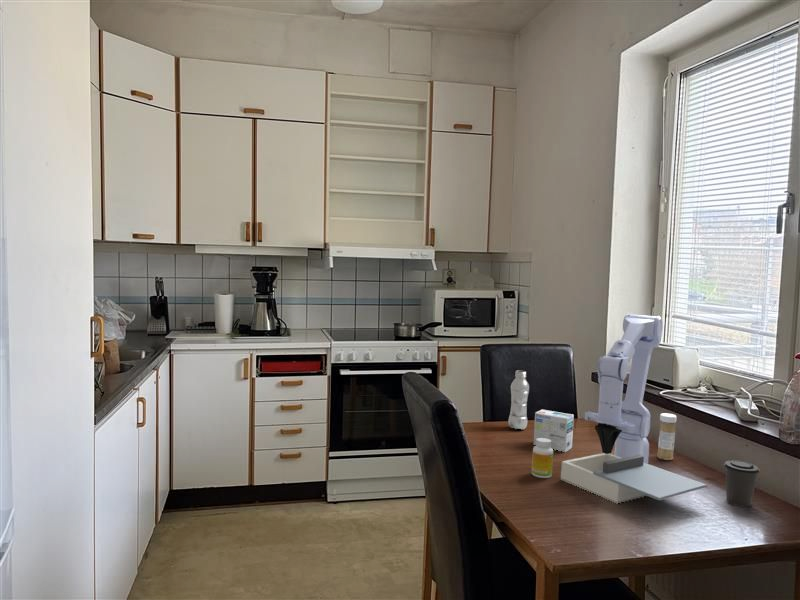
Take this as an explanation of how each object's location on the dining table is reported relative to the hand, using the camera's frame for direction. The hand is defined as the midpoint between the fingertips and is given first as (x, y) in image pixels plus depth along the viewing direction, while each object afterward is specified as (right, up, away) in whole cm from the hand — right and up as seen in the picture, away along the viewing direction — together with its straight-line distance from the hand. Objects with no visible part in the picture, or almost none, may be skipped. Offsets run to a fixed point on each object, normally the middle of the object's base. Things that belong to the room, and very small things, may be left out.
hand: (606, 452), depth 162 cm
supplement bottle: (-16, -7, +5) cm, 18 cm away
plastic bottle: (-14, -4, +50) cm, 52 cm away
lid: (+7, -4, -11) cm, 13 cm away
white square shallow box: (+1, -8, -1) cm, 8 cm away
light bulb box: (-7, -6, +31) cm, 32 cm away
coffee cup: (+30, -10, -8) cm, 33 cm away
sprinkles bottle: (+26, -8, +24) cm, 36 cm away
